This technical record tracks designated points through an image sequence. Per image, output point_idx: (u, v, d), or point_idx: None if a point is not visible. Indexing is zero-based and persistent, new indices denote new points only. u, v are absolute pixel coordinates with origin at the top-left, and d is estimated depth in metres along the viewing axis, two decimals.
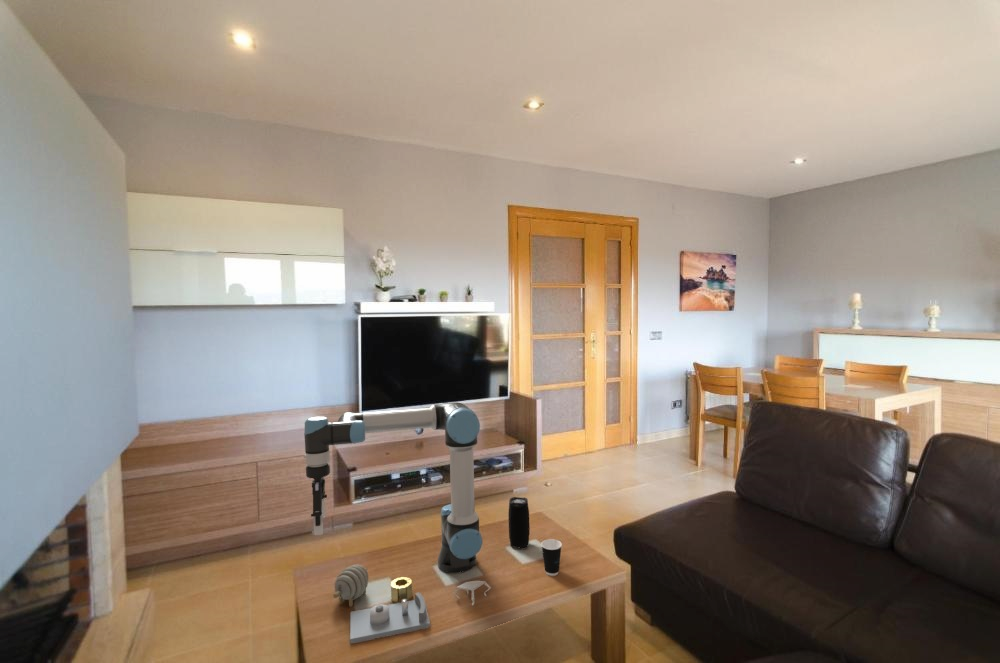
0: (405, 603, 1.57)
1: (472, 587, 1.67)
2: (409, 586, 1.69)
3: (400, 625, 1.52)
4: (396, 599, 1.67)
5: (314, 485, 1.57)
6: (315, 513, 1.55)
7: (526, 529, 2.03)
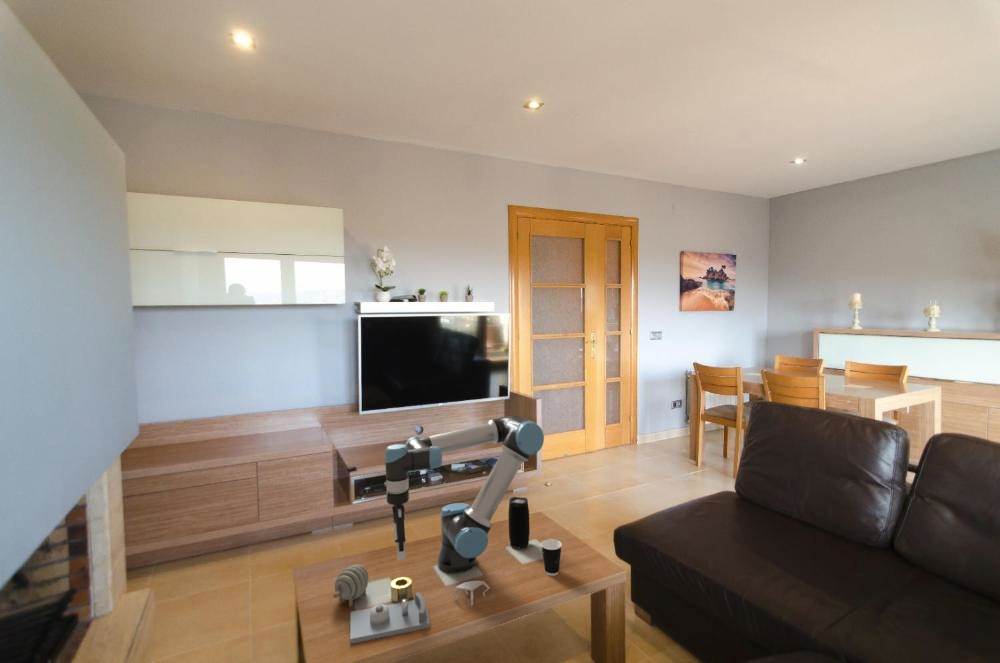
0: (405, 603, 1.57)
1: (471, 587, 1.67)
2: (409, 586, 1.69)
3: (400, 625, 1.52)
4: (396, 599, 1.67)
5: (397, 512, 1.63)
6: (400, 539, 1.60)
7: (526, 529, 2.03)
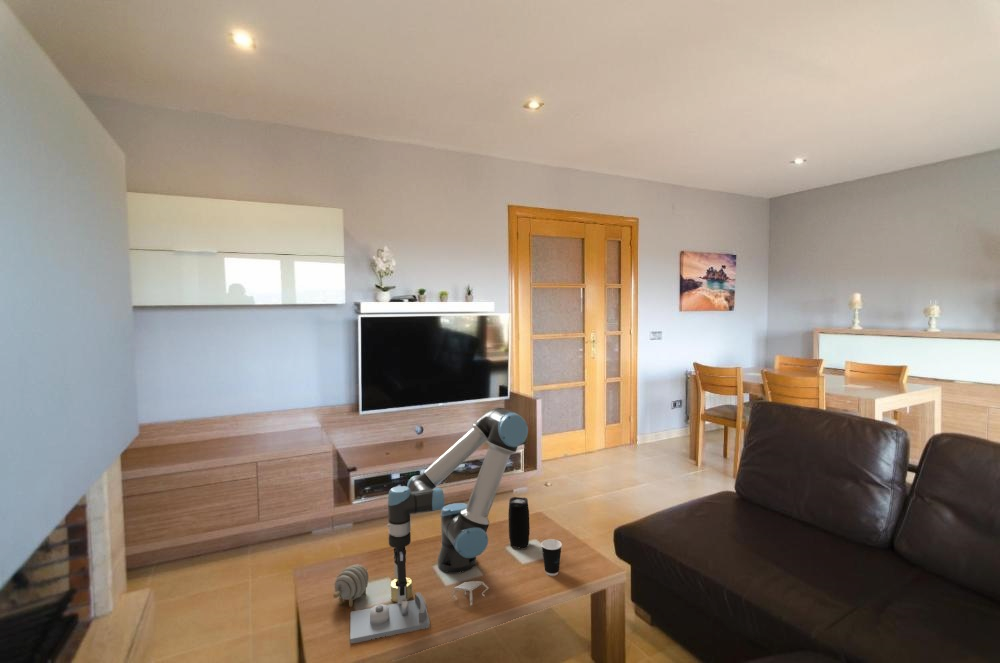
0: (405, 603, 1.57)
1: (470, 587, 1.67)
2: (409, 586, 1.69)
3: (400, 625, 1.52)
4: (396, 599, 1.67)
5: (399, 555, 1.63)
6: (401, 584, 1.60)
7: (526, 529, 2.03)
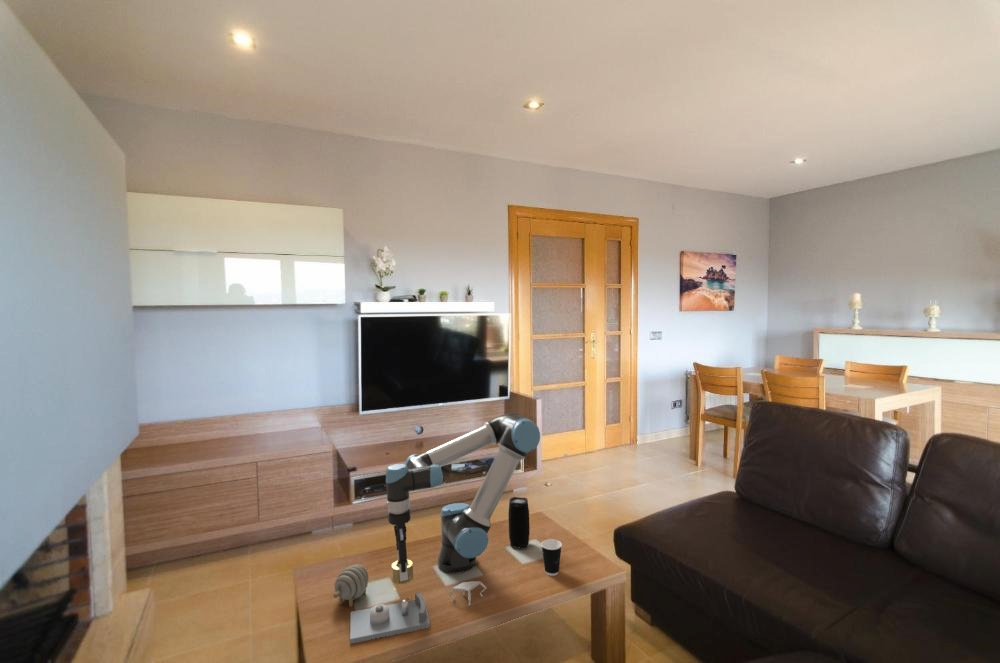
0: (405, 603, 1.57)
1: (468, 588, 1.67)
2: (410, 568, 1.69)
3: (400, 625, 1.52)
4: (397, 581, 1.67)
5: (399, 536, 1.63)
6: (402, 561, 1.63)
7: (526, 529, 2.03)
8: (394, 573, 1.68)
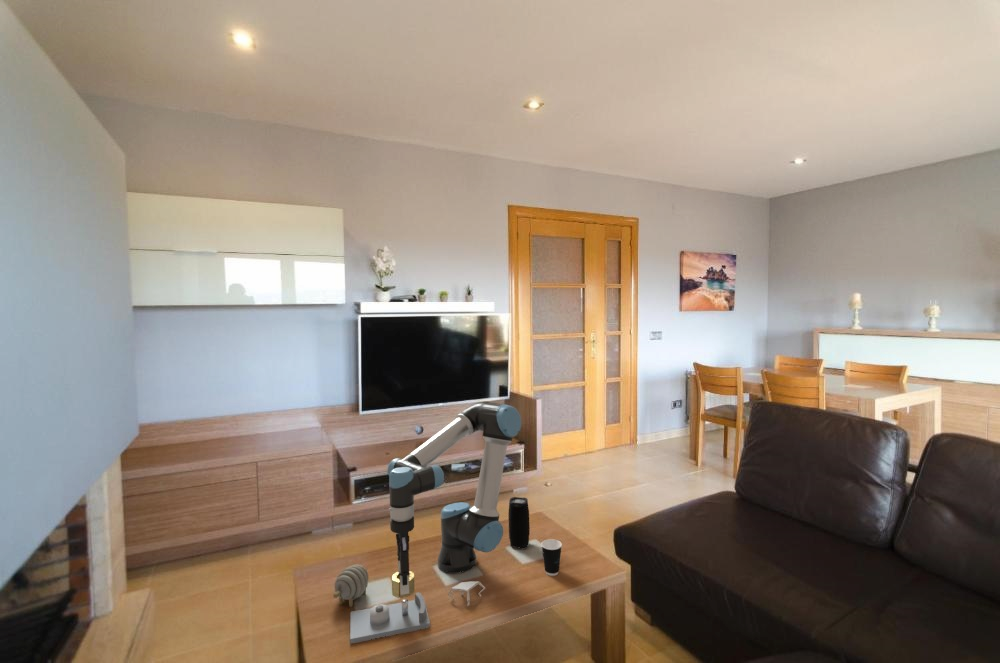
0: (405, 603, 1.57)
1: (467, 588, 1.67)
2: (411, 580, 1.56)
3: (400, 625, 1.52)
4: (397, 594, 1.54)
5: (402, 545, 1.50)
6: (403, 573, 1.50)
7: (526, 529, 2.03)
8: (394, 585, 1.55)
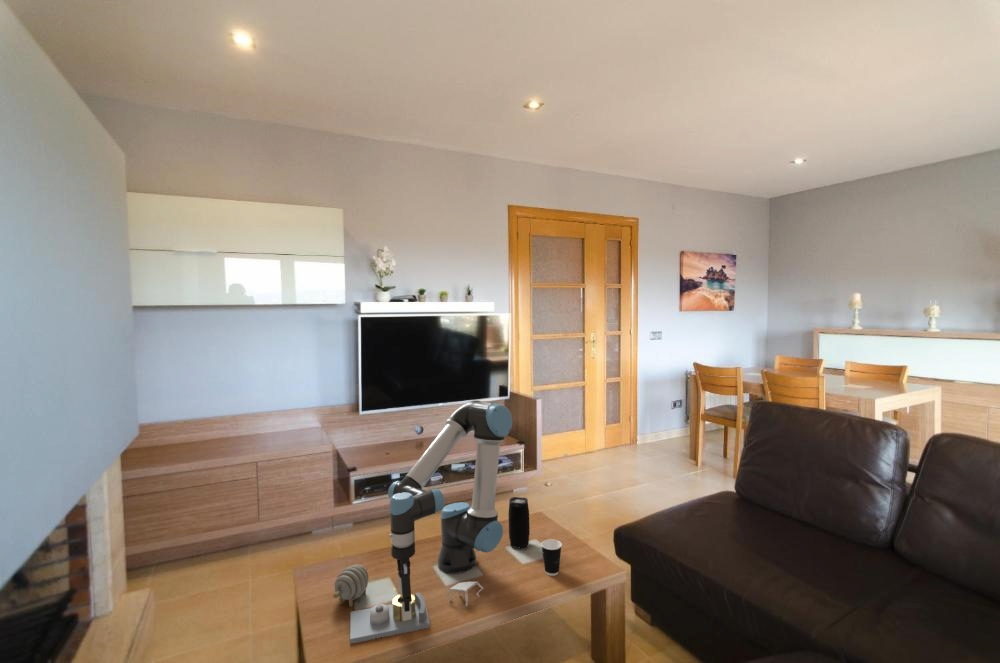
0: None
1: (465, 588, 1.66)
2: (412, 604, 1.56)
3: (400, 625, 1.52)
4: (398, 618, 1.54)
5: (403, 568, 1.51)
6: (405, 599, 1.48)
7: (526, 529, 2.03)
8: (395, 609, 1.55)
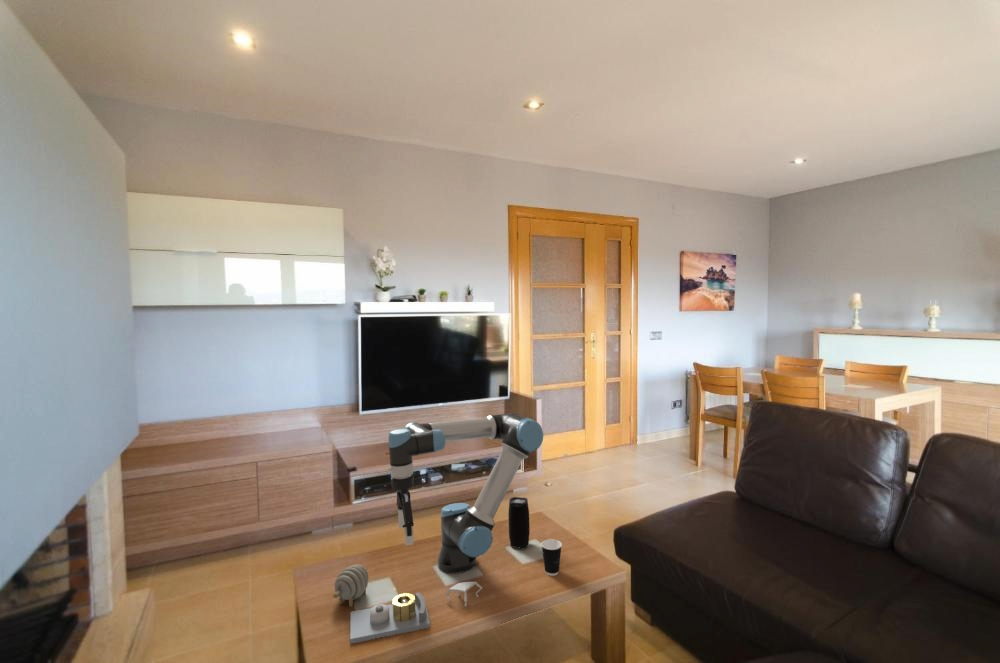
0: None
1: (464, 588, 1.66)
2: (412, 604, 1.56)
3: (400, 625, 1.52)
4: (398, 618, 1.54)
5: (404, 497, 1.61)
6: (408, 524, 1.58)
7: (526, 529, 2.03)
8: (395, 609, 1.55)
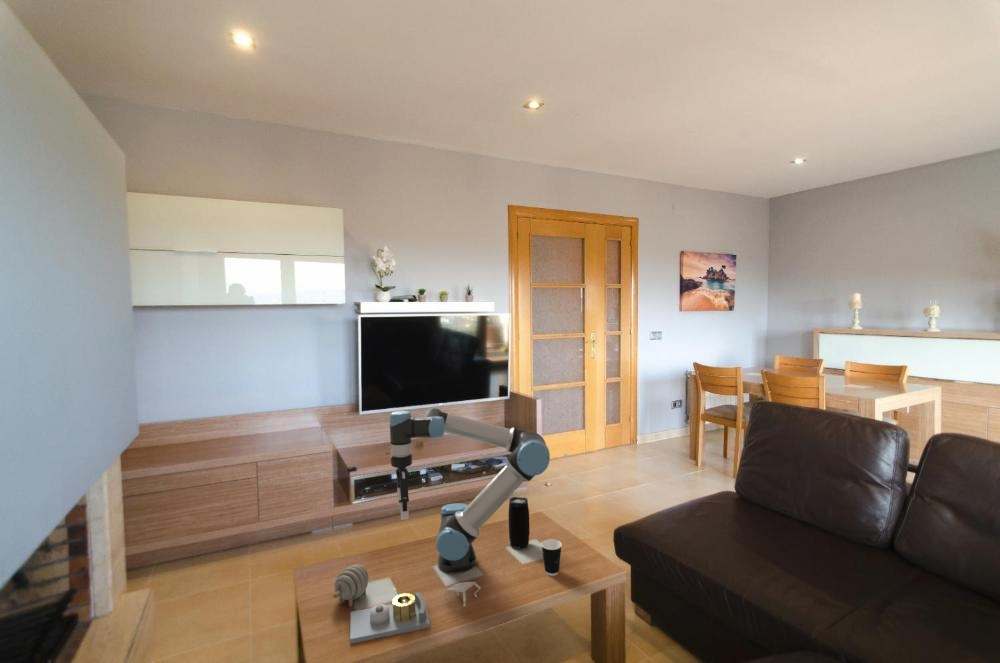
0: None
1: (463, 588, 1.66)
2: (412, 604, 1.56)
3: (400, 625, 1.52)
4: (398, 618, 1.54)
5: (401, 474, 1.71)
6: (403, 499, 1.68)
7: (526, 529, 2.03)
8: (395, 609, 1.55)
